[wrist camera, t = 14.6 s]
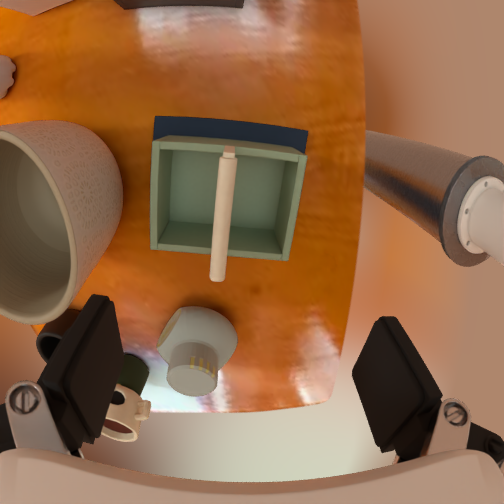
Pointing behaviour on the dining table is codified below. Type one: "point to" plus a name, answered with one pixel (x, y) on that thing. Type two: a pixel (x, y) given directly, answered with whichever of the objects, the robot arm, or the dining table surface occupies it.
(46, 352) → the mug
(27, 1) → the milk carton
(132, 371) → the character mug
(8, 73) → the bottle
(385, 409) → the robot arm
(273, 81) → the dining table surface
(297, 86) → the dining table surface
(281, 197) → the box
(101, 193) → the planter
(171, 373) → the air freshener
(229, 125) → the mat
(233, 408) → the dining table surface
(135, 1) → the box
